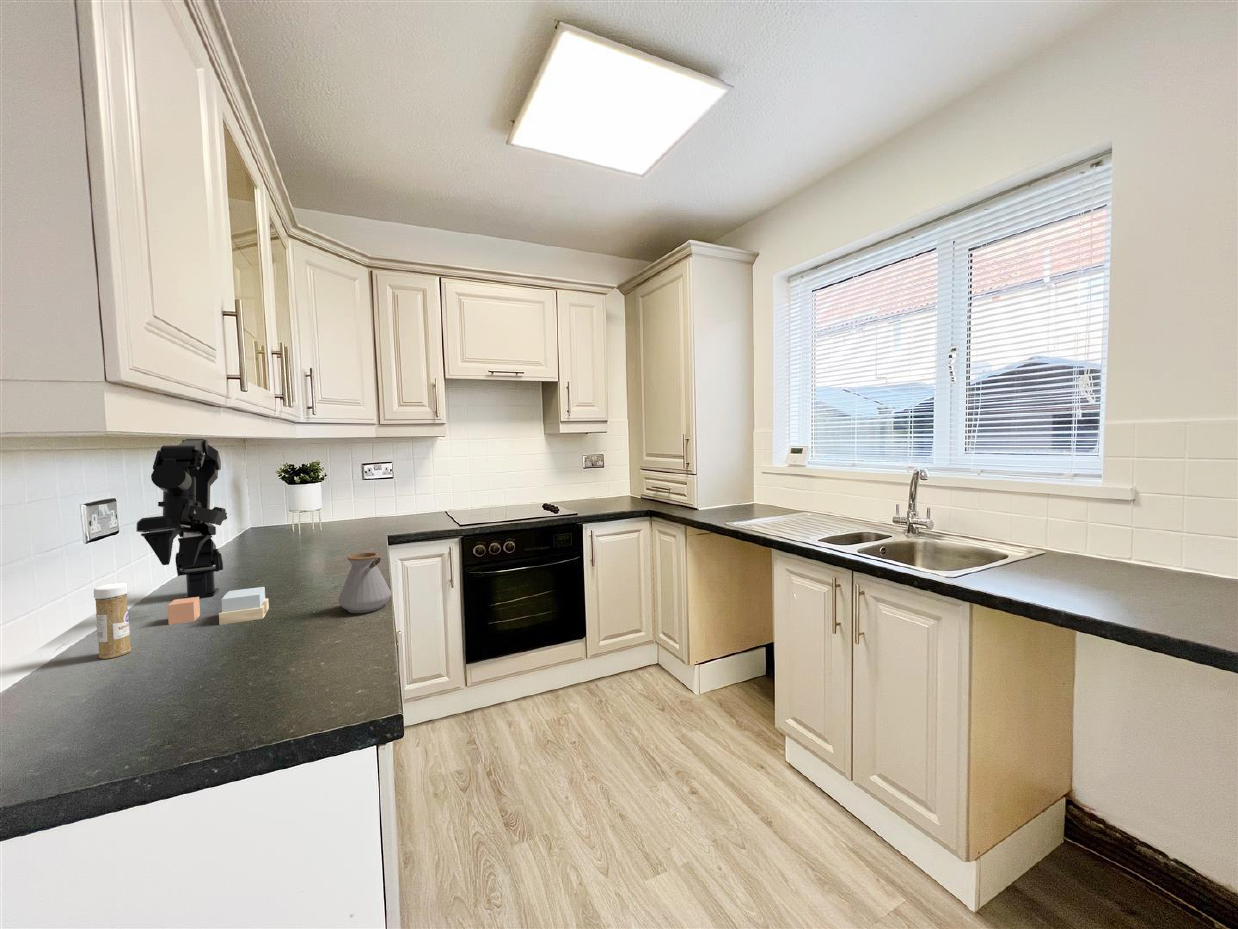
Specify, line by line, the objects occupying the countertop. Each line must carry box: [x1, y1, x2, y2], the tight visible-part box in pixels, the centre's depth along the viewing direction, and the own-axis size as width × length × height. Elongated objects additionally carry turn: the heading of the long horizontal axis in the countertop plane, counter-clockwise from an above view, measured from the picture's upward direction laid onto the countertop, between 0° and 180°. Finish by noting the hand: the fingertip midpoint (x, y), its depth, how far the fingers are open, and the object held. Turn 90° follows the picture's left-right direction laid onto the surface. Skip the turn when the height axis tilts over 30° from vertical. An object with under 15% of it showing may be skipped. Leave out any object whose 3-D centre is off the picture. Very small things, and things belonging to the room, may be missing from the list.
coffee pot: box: [338, 552, 392, 614], centre depth 118 cm, size 21×12×15 cm, turn 39°
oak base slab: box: [218, 597, 270, 626], centre depth 117 cm, size 8×8×3 cm
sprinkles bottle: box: [93, 582, 132, 660], centre depth 96 cm, size 5×5×13 cm
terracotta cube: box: [167, 597, 201, 626], centre depth 115 cm, size 4×4×4 cm
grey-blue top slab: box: [221, 586, 266, 613], centre depth 117 cm, size 7×7×3 cm
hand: (178, 565), depth 114 cm, fingers open, 9 cm apart
